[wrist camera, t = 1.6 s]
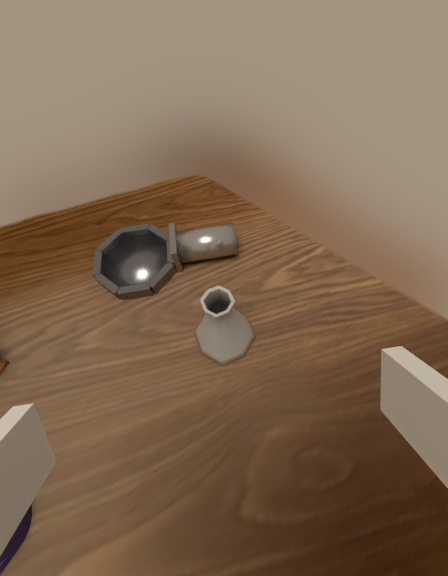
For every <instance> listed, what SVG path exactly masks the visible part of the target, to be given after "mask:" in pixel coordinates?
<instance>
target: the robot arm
mask: <svg viewBox="0 0 448 576" xmlns="http://www.w3.org/2000/svg"><path fill="white" fill-rule="evenodd" d="M381 411H382V412H383V413H384V415H385V416H386V417H387V418H388V419H389V421H390V422H391V423H392V424H393V425H394V426H395V428H396V429H397V430H398V431H399V432H400V433H401V435H402V436H403V437H404V438H405V439H406V440H407V442H408V443H409V444H410V445H411V446H412V447H413V449H414V450H415V451H416V452H417V453H418V454H419V456H420V457H421V458H422V459H423V460H424V461H425V463H426V464H427V465H428V466H429V467H430V468H431V470H432V471H433V472H434V473H435V474H436V475H437V477H438V478H439V479H440V480H441V481H442V482H443V484H444V485H445V486H446V487H447V488H448V379H447V378H445V377H444V376H442V375H441V374H440V373H438V372H437V371H435V370H434V369H433V368H431V367H430V366H428V365H427V364H426V363H424V362H423V361H421V360H420V359H419V358H417V357H416V356H414V355H413V354H412V353H410V352H409V351H407V350H406V349H405V348H403V347H402V346H399V347H392V348H386V349H381ZM55 463H56V460H55V457H54V455H53V452H52V450H51V447H50V444H49V442H48V439H47V437H46V434H45V431H44V429H43V426H42V424H41V421H40V418H39V416H38V413H37V411H36V408H35V405H34V403H33V404H27V405H20V406H14V407H12V408H11V409H10V410H9V411H8V412H7V413H6V414H5V415H4V416H3V417H2V418H1V419H0V556H1V554H2V553H3V551H4V549H5V548H6V546H7V544H8V542H9V541H10V539H11V537H12V536H13V534H14V532H15V531H16V529H17V527H18V526H19V524H20V522H21V520H22V519H23V517H24V515H25V514H26V512H27V510H28V509H29V507H30V505H31V504H32V502H33V500H34V498H35V497H36V495H37V493H38V492H39V490H40V488H41V487H42V485H43V483H44V482H45V480H46V478H47V476H48V475H49V473H50V471H51V470H52V468H53V466H54V465H55Z"/></svg>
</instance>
